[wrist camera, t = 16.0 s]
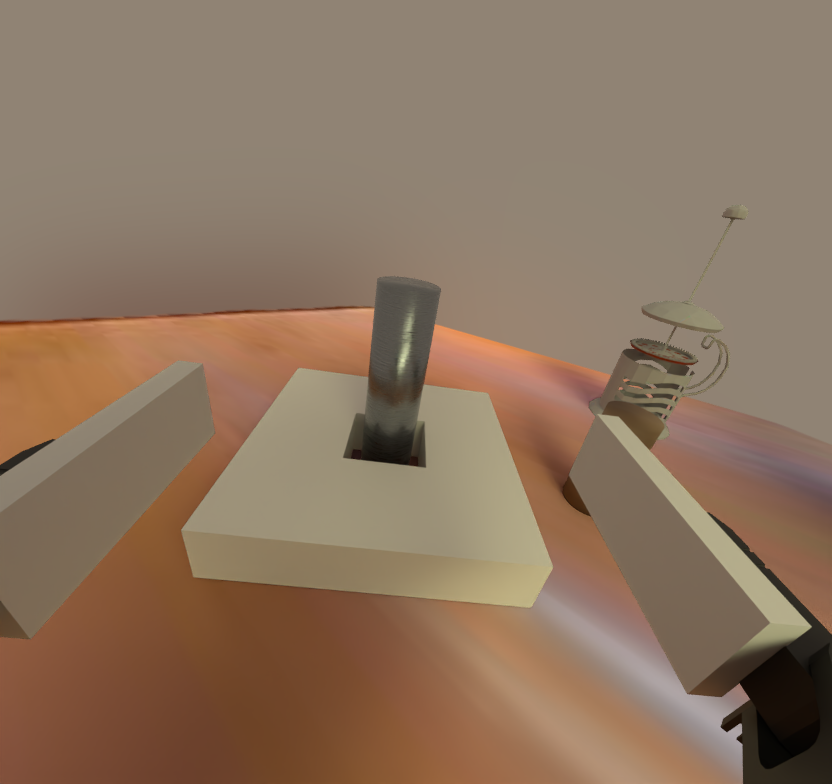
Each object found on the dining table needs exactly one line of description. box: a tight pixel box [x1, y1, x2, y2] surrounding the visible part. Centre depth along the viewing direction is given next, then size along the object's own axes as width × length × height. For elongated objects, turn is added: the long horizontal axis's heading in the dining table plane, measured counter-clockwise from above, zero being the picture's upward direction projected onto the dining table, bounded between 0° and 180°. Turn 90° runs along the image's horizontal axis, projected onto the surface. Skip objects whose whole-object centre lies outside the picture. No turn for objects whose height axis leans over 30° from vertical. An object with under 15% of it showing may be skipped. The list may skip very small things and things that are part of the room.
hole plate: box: [181, 368, 553, 608], centre depth 28 cm, size 20×20×4 cm
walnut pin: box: [563, 401, 665, 516], centre depth 28 cm, size 4×4×9 cm
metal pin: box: [361, 277, 441, 466], centre depth 25 cm, size 4×4×16 cm
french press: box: [589, 205, 748, 440], centre depth 39 cm, size 10×12×25 cm
